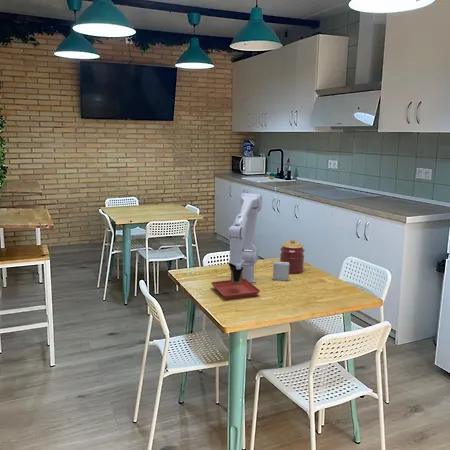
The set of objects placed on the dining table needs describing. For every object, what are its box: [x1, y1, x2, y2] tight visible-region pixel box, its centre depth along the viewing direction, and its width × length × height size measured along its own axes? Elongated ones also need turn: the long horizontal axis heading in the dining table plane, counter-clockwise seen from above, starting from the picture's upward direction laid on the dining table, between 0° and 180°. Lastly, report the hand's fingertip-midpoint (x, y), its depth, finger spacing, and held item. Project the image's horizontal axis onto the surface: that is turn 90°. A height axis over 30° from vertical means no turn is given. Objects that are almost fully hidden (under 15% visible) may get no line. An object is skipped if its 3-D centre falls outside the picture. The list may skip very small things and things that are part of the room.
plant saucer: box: [211, 279, 261, 300], centre depth 211 cm, size 18×18×3 cm
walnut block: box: [230, 270, 243, 285], centre depth 210 cm, size 4×4×6 cm
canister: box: [279, 238, 305, 274], centre depth 244 cm, size 13×13×18 cm
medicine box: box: [272, 261, 290, 281], centre depth 230 cm, size 8×4×9 cm, turn 84°
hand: (235, 279), depth 210 cm, fingers closed on walnut block, 4 cm apart
